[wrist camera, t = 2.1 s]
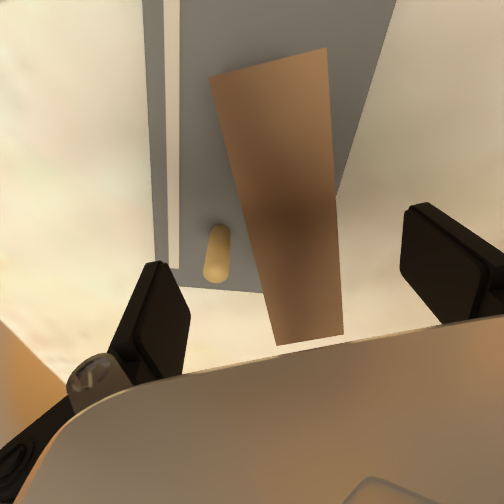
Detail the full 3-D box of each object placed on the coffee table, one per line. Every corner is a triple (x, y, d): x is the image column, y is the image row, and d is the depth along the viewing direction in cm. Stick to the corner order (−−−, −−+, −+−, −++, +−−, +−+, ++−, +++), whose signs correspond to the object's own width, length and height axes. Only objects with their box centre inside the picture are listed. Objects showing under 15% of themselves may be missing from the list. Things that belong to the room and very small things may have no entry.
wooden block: (290, 57, 16) (326, 47, 9) (313, 258, 23) (343, 334, 17) (220, 74, 16) (206, 77, 10) (265, 268, 24) (275, 346, 17)
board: (455, -230, 12) (624, -465, 7) (302, 288, 27) (317, 341, 21) (135, -325, 11) (32, -711, 5) (160, 275, 25) (139, 329, 20)
